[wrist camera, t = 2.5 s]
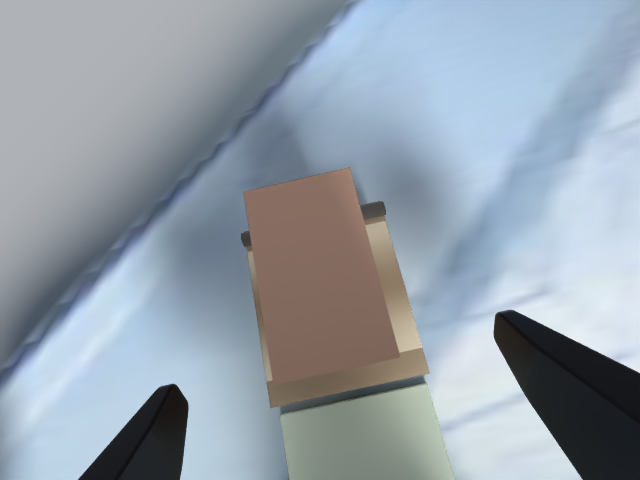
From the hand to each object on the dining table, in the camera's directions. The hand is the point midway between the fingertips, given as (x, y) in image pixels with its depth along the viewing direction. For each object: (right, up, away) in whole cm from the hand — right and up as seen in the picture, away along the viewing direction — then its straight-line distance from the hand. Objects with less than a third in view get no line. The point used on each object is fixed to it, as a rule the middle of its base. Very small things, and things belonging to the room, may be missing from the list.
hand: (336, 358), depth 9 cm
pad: (+2, -9, +7) cm, 12 cm away
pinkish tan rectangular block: (0, 0, +10) cm, 10 cm away
